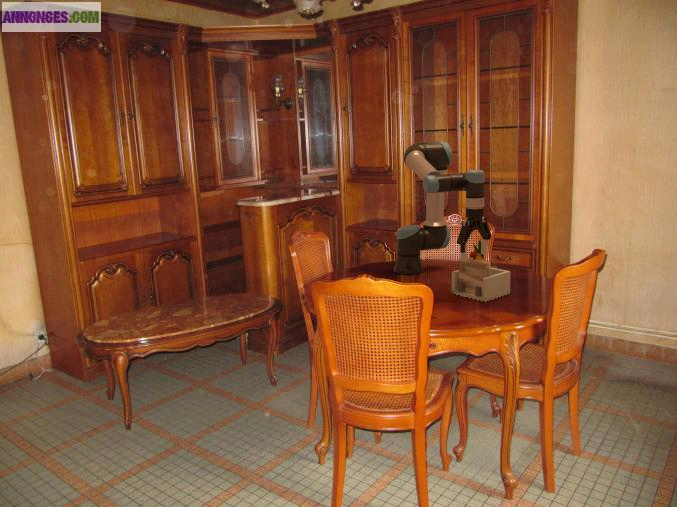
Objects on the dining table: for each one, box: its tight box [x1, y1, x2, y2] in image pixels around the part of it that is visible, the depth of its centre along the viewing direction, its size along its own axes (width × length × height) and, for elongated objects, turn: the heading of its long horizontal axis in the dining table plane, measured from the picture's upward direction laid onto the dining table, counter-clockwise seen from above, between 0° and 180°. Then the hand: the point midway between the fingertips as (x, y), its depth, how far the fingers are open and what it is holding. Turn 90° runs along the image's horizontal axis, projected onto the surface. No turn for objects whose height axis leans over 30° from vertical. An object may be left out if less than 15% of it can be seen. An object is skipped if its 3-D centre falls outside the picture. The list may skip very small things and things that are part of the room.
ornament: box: [469, 238, 487, 262], centre depth 292 cm, size 21×8×15 cm, turn 0°
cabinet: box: [451, 268, 511, 303], centre depth 250 cm, size 17×18×10 cm
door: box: [458, 257, 492, 296], centre depth 246 cm, size 5×14×14 cm, turn 39°
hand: (474, 257), depth 245 cm, fingers open, 13 cm apart
